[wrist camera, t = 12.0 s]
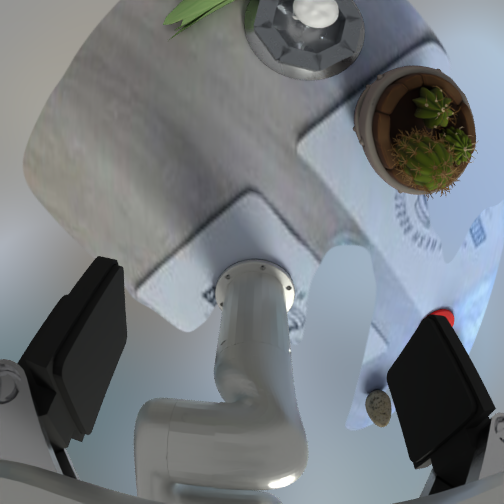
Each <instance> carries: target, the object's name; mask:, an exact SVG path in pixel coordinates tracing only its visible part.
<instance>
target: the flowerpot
mask: <svg viewBox="0 0 504 504" xmlns="http://www.w3.org/2000/svg"><path fill="white" fill-rule="evenodd" d="M354 125H355V126H354V127H353V130H354V131H355V132H356V134H357V137H358V139H359V143H360V144H361V145H362V146H363V150H364V152H365V155H366V157H367V159H368V161H369V162H370V164H371V166H372V167H373V169H374V170H375V172H376V173H377V174H378V175H379V176H380V177H381V178H382V179H383V180H384V181H385V182H386V183H388V184H389V185H390V186H392V187H393V188H395V189H397V190H398V192H399V193H402V192H404V193H408V194H416V195H421V194H424V196H425V194H430V195H431V194H432V193H434V192H436V193H437V192H438V191H440V190H441V194H442V193H443V189H445V190H446V191H447V190H449V186H450V185H451V184H452V183H453V184H454V182H455V181H456V180H457V179H458V178H459V177H460V176H461V174H462V173H463V172H464V170H465V168H466V166H467V165H468V163H471V162H469V161H470V159H471V154H472V153H473V151H474V150H475V144H476V133H475V124H474V119H473V115H472V112H471V109H470V106H469V103H468V101H467V98H466V96H465V94H464V93H463V92H462V91H461V90H460V88H459V87H458V86H457V85H456V83H455V82H454V81H453V80H452V79H451V78H450V77H448V76H447V75H445V74H444V73H442V72H441V70H440V69H433V68H429V67H423V66H404V67H400V68H396V69H393V70H390V71H388V72H386V73H384V74H382V75H378V76H377V79H376V80H375V82H373V83H372V84H371V85H369V84H368V85H366V89H365V90H364V91H363V93H362V94H361V96H360V98H359V100H358V102H357V105H356V109H355V114H354ZM475 151H476V150H475ZM472 157H473V156H472ZM454 185H455V184H454ZM446 187H448V188H446ZM449 192H450V191H449ZM445 194H446V192H445ZM426 196H427V195H426ZM441 196H442V195H441ZM427 197H428V198H429V196H427ZM427 201H428V200H427Z"/></svg>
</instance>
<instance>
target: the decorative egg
mask: <svg viewBox="0 0 504 504" xmlns="http://www.w3.org/2000/svg"><path fill="white" fill-rule="evenodd" d="M365 406H366V411H367V413H368V415H369V417H370V418H371V420H372V421H373V422H374V423H375V424H376V425H377V426H379V427H385V426H387V424H388V423H389V421H390V418H391V401H390V398H389V396H388V395H387V394H386V393H385V392H384V391H381V390H375V391H373V392H371V393H370V394H369V395H368V396H367V398H366V402H365Z"/></svg>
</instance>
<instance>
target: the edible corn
mask: <svg viewBox="0 0 504 504" xmlns="http://www.w3.org/2000/svg"><path fill="white" fill-rule="evenodd" d="M232 1H234V0H183V1H182V2H181V3H180V4H179V5H178V6H177V7H176V8H175V9H174V10H173V11H172V12H171V13H170V14H169V15H168V16H167V17H166V19H165V21H164V23H163V25H168V24H173V23H175V22H176V23H177V22H178V21H180V20H183V21H182V24H181V26H180V27H178V28H177V29H179V28H181V27H182V26H184V25H185V24H186V25H185V26H184V27H183V28H182V29H181V30H180V31H178V32H177V33H176V34H175V35H174V36H176V35H177V34H178V33H180V32H182V31H183V30H185V29H186V28H188V27H189V26H191V25H192V24H194V23H195V22H197V21H199V20H200V19H202V18H204V17H205V16H207V15H209V14H210V13H212V12H214V11H216V10H218V9H219V8H221V7H223V6H225V5H227V4H229V3H230V2H232ZM187 23H188V24H187ZM177 29H175V30H177ZM174 36H173V37H174ZM173 37H172V38H173ZM170 39H171V38H170ZM170 39H169V40H170Z"/></svg>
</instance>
